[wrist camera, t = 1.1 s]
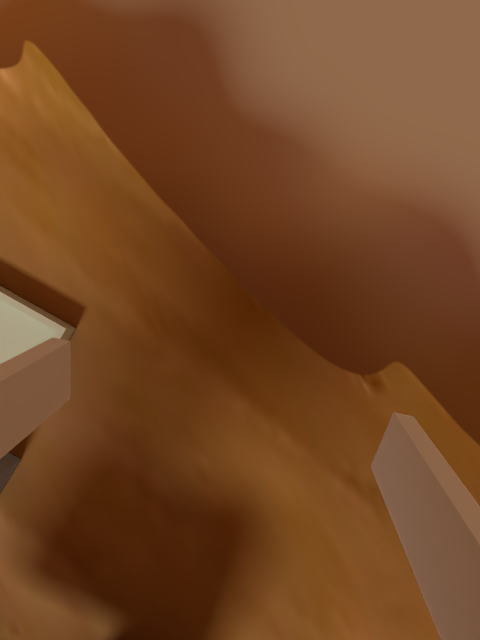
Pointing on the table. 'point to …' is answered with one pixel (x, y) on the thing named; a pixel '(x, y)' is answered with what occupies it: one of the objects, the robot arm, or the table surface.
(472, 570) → the robot arm
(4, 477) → the grey blocks
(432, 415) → the table surface
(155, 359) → the table surface
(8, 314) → the parts tray
